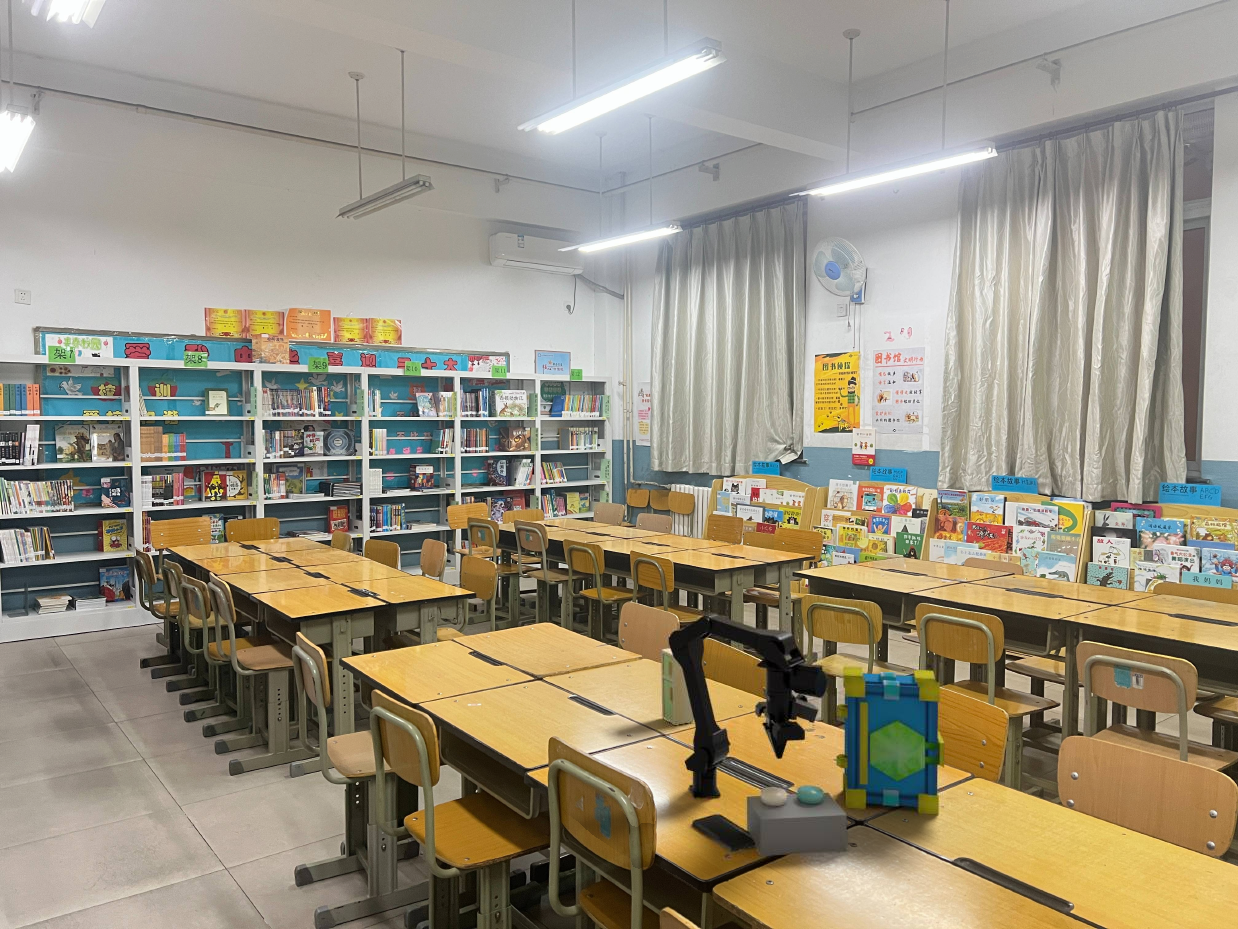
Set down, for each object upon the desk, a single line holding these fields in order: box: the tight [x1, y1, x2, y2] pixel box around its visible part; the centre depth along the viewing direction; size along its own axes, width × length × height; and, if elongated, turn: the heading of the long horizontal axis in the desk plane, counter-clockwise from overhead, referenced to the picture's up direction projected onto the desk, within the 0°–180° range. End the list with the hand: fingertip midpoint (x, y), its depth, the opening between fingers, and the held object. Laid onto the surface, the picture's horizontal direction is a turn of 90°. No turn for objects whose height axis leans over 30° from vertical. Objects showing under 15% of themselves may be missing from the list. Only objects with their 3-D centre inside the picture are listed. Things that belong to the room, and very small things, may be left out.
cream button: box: [760, 786, 788, 806], centre depth 183 cm, size 5×5×5 cm
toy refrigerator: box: [660, 647, 695, 726], centre depth 256 cm, size 8×7×21 cm
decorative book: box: [835, 666, 945, 816], centre depth 199 cm, size 14×23×30 cm, turn 78°
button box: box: [746, 792, 848, 857], centre depth 181 cm, size 11×18×8 cm, turn 96°
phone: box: [691, 813, 755, 853], centre depth 184 cm, size 8×1×15 cm
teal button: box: [796, 784, 824, 804], centre depth 184 cm, size 5×5×5 cm
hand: (779, 758), depth 193 cm, fingers closed
